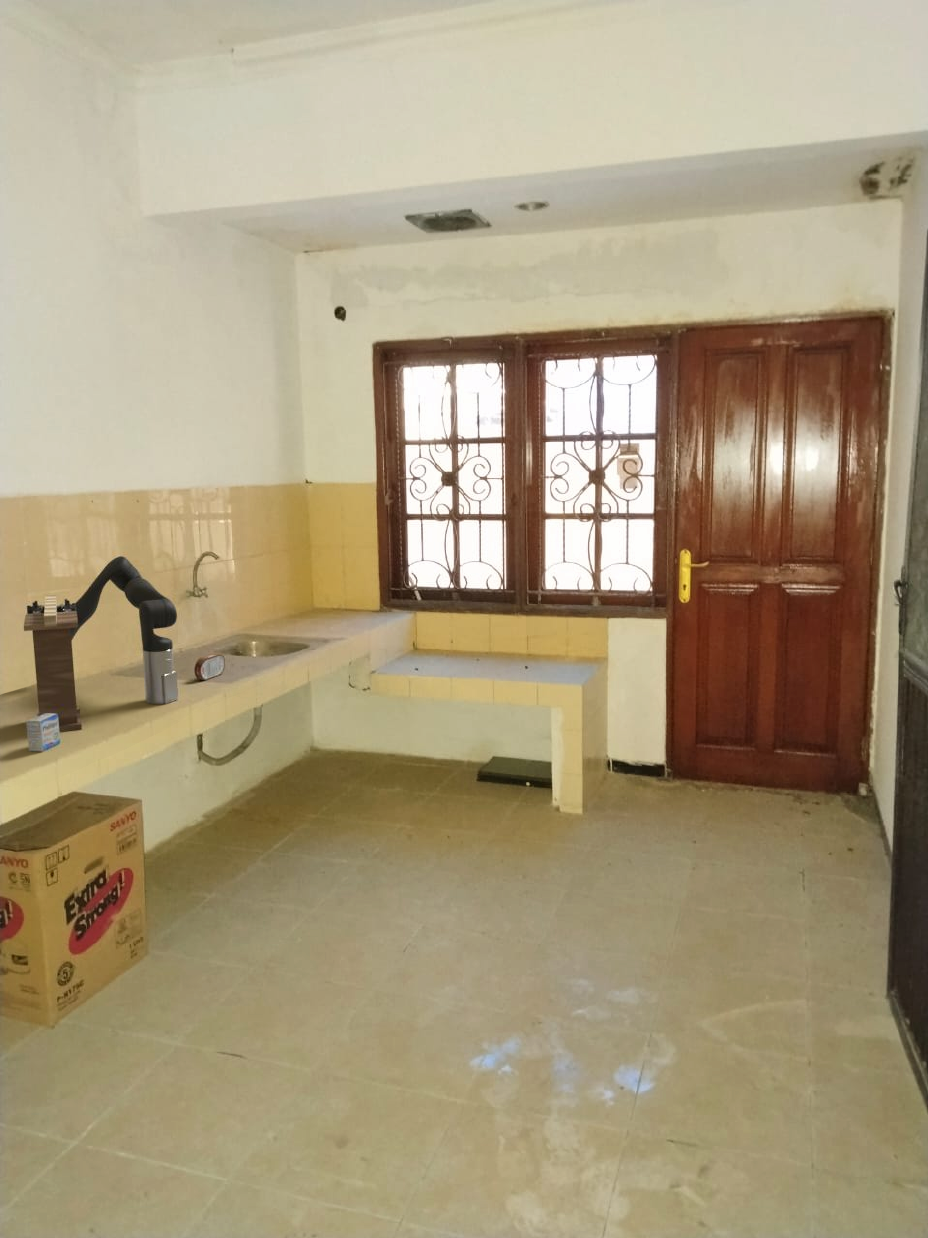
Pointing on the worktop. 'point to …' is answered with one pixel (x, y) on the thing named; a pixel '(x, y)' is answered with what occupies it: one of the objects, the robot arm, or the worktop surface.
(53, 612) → the bar
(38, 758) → the worktop surface
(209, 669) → the tin
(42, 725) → the medicine box
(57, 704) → the stand
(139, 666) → the worktop surface
